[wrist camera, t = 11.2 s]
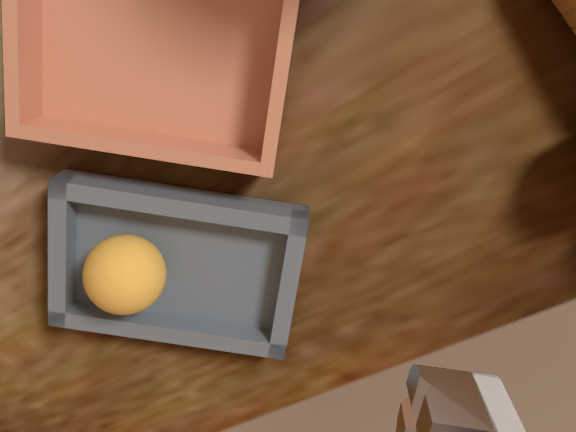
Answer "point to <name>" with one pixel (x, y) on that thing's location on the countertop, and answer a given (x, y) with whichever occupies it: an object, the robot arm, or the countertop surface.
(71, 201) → the tray
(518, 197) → the countertop surface
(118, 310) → the ball
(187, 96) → the dish
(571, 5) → the kendama
